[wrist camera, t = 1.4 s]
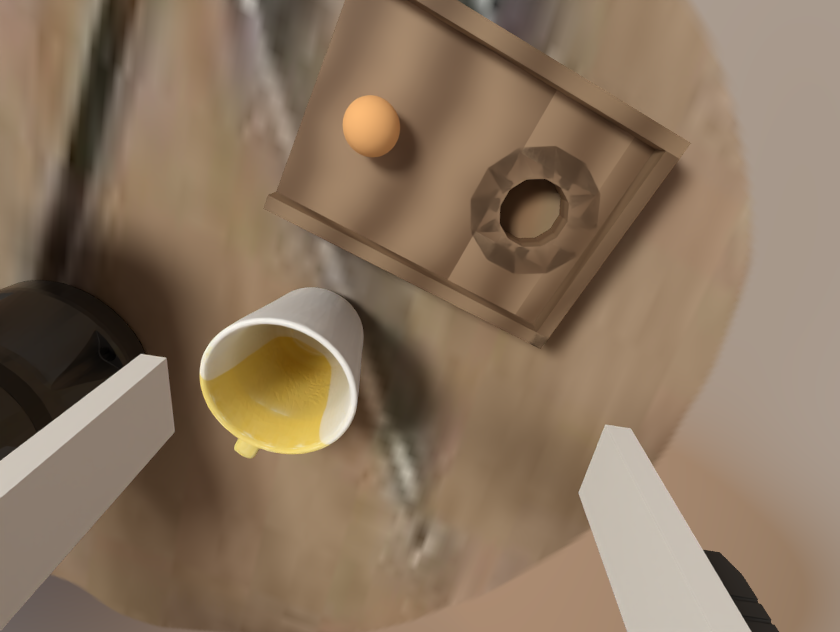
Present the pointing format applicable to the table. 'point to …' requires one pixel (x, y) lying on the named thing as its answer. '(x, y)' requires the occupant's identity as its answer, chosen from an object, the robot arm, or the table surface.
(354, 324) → the mug
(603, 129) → the board
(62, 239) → the table surface
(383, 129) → the ball
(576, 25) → the table surface
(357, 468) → the table surface
